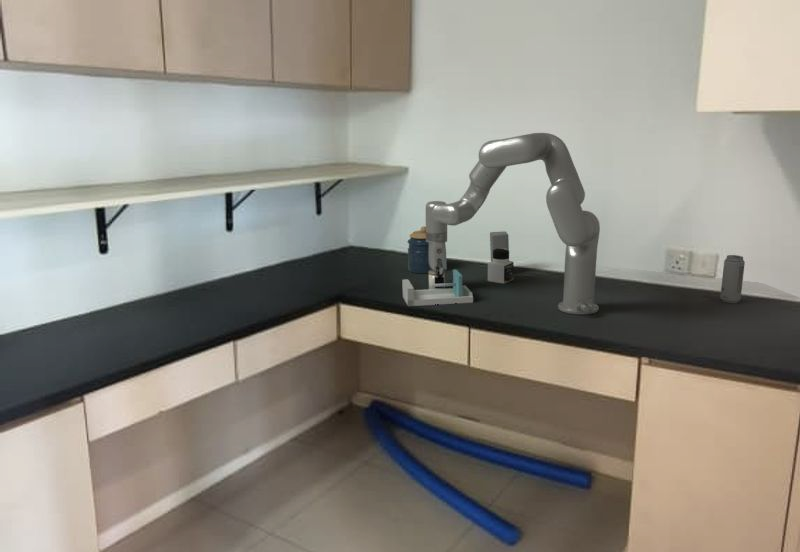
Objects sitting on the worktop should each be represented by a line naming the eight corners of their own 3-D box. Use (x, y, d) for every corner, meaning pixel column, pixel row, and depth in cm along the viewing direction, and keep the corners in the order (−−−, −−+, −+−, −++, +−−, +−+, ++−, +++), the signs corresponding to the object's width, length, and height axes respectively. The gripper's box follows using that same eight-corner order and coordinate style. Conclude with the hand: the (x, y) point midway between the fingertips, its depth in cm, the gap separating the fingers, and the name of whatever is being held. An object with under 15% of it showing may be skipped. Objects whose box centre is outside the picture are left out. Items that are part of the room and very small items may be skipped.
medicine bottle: (504, 284, 252) (504, 252, 249) (487, 281, 256) (487, 249, 253) (513, 279, 257) (514, 248, 254) (496, 277, 262) (497, 246, 259)
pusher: (462, 299, 230) (462, 275, 228) (435, 300, 229) (435, 277, 227) (456, 291, 239) (456, 269, 237) (430, 293, 238) (430, 270, 236)
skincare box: (509, 275, 265) (510, 234, 261) (491, 275, 265) (492, 234, 261) (506, 269, 273) (507, 230, 269) (488, 270, 273) (489, 230, 269)
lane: (473, 302, 230) (473, 285, 228) (407, 306, 227) (407, 288, 225) (464, 292, 241) (464, 276, 240) (402, 296, 238) (402, 279, 237)
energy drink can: (722, 297, 230) (726, 253, 227) (741, 300, 227) (746, 256, 223) (718, 301, 226) (722, 257, 222) (738, 304, 222) (743, 259, 218)
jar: (446, 292, 242) (446, 272, 241) (430, 293, 241) (430, 273, 240) (443, 288, 248) (443, 269, 246) (427, 289, 247) (427, 269, 245)
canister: (406, 267, 280) (405, 224, 276) (437, 265, 281) (437, 223, 277) (410, 274, 268) (409, 230, 263) (442, 273, 269) (442, 228, 265)
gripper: (452, 241, 232) (452, 290, 236) (442, 232, 249) (442, 277, 253) (430, 242, 231) (430, 291, 235) (421, 232, 248) (422, 279, 252)
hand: (436, 284), depth 244 cm, fingers open, 9 cm apart
